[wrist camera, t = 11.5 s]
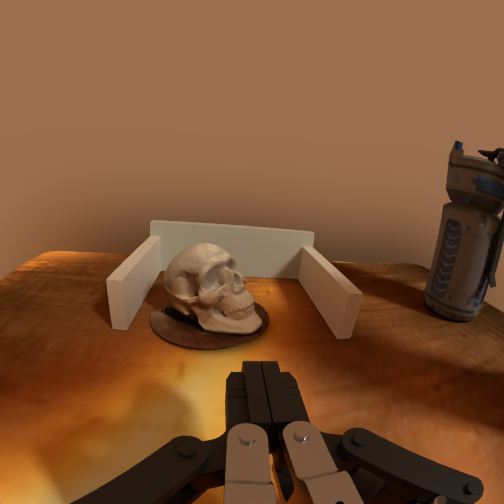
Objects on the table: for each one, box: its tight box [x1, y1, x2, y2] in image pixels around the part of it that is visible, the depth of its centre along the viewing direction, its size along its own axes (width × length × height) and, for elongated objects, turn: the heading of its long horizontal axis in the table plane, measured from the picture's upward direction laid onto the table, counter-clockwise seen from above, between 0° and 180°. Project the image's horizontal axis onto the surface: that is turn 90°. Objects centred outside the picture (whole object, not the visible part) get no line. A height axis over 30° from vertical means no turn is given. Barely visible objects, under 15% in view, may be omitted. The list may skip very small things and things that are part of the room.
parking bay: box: [106, 220, 363, 339], centre depth 31 cm, size 23×18×7 cm
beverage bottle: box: [424, 141, 504, 321], centre depth 28 cm, size 10×13×25 cm
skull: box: [150, 243, 269, 349], centre depth 27 cm, size 12×10×10 cm
